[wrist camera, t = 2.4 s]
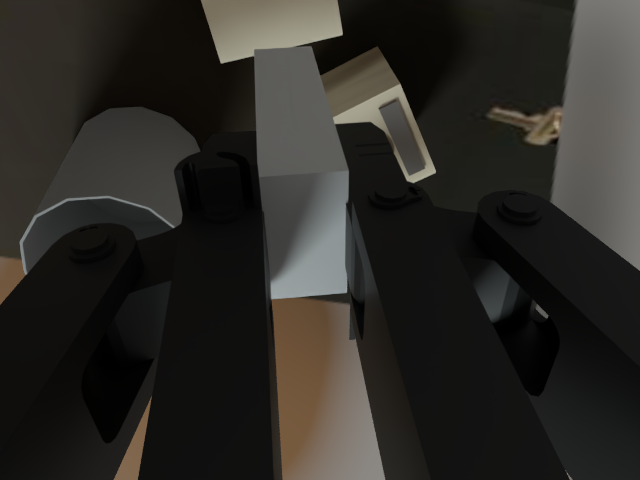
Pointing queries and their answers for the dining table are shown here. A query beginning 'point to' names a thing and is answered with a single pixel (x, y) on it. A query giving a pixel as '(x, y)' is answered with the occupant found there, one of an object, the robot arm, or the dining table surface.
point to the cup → (114, 179)
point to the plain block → (269, 24)
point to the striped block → (378, 108)
